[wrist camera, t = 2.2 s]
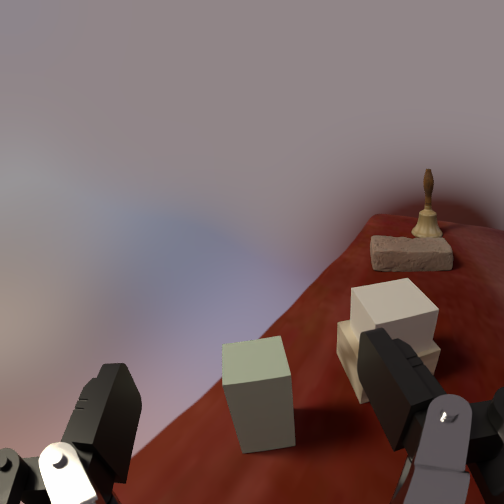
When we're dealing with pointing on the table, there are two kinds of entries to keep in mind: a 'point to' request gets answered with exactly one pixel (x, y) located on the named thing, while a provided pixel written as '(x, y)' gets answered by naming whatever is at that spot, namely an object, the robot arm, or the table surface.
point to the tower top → (394, 312)
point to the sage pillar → (259, 393)
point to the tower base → (349, 357)
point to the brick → (410, 254)
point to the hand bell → (427, 213)
